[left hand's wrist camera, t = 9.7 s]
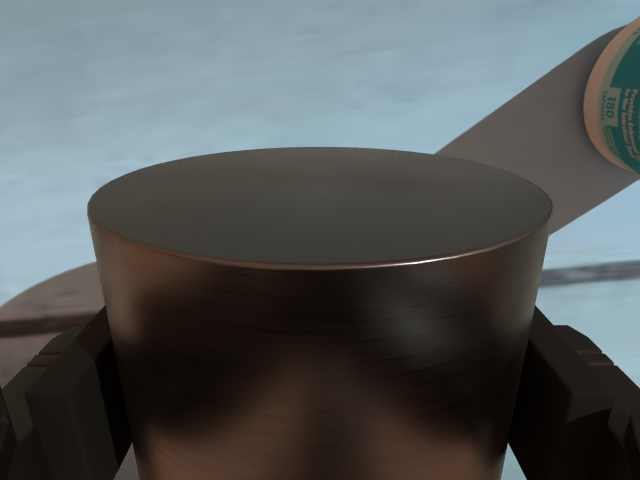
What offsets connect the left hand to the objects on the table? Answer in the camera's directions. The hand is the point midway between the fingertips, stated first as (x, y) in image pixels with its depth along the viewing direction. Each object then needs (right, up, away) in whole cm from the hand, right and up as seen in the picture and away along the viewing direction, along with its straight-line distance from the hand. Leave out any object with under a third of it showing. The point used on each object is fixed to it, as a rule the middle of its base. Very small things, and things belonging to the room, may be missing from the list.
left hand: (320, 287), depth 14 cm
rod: (0, -8, +4) cm, 9 cm away
